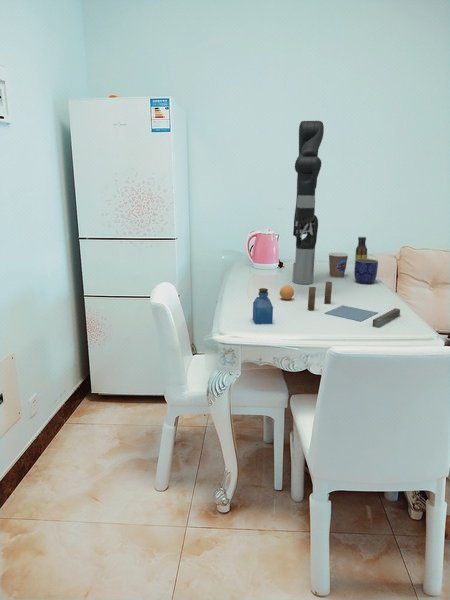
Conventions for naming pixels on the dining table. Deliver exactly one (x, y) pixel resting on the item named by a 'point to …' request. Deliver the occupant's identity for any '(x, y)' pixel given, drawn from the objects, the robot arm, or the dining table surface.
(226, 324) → the dining table surface
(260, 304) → the perfume bottle
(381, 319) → the wall
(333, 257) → the coffee cup
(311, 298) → the post
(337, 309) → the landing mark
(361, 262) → the planter
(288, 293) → the ball
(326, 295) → the post
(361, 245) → the sauce bottle
